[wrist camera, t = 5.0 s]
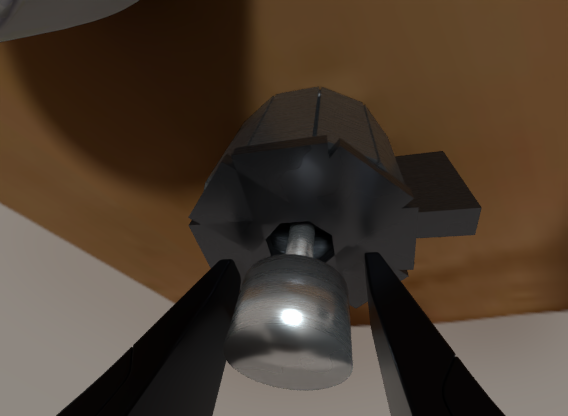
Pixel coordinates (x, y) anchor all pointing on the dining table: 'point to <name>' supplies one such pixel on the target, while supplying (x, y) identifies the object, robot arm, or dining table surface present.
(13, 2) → the teacup
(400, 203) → the octagonal grey mug
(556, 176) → the dining table surface
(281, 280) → the plunger
